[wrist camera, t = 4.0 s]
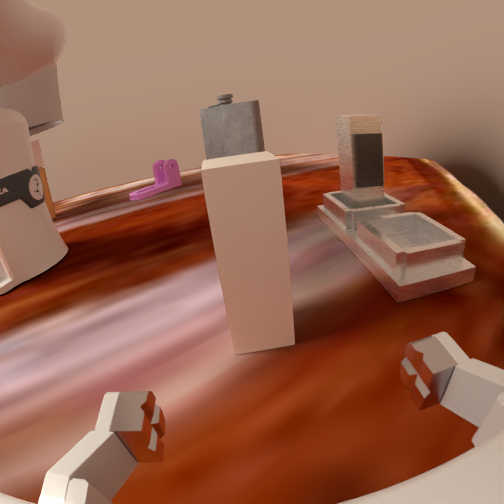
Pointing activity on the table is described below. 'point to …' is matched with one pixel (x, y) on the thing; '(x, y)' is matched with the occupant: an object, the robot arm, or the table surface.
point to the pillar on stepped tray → (388, 221)
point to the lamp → (36, 112)
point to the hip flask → (232, 128)
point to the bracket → (160, 179)
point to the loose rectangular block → (251, 248)
